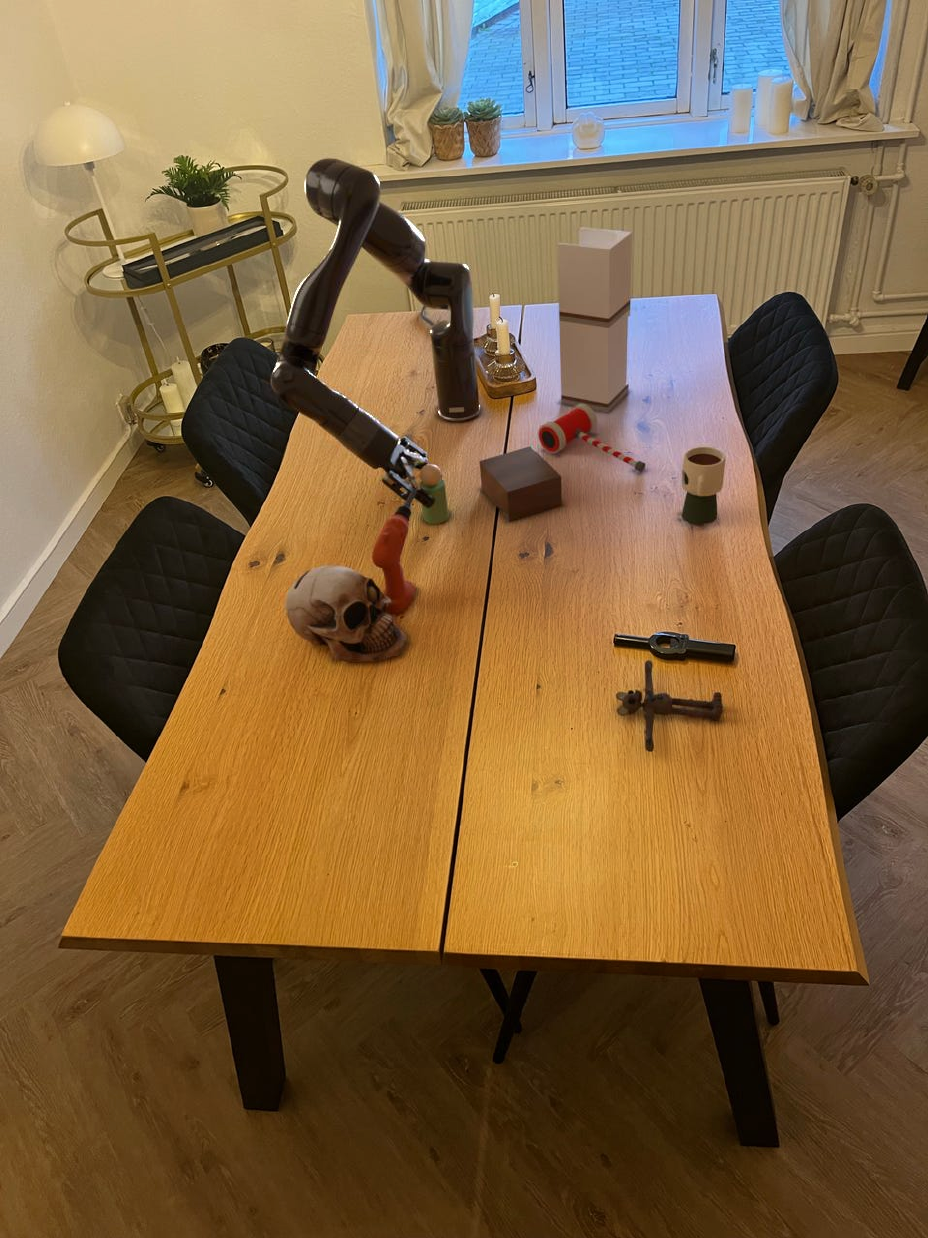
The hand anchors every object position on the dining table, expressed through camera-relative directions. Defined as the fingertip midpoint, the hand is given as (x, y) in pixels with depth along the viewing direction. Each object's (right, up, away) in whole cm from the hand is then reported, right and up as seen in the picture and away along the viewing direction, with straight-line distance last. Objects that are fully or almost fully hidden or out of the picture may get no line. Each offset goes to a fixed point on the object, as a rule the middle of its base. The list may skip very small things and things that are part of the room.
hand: (436, 491), depth 172 cm
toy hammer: (+31, +11, +18) cm, 38 cm away
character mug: (+48, -6, -4) cm, 49 cm away
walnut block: (+16, 0, +6) cm, 18 cm away
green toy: (0, -4, +4) cm, 6 cm away
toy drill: (-5, -18, -11) cm, 22 cm away
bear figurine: (+34, -37, -40) cm, 65 cm away
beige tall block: (+35, +26, +35) cm, 56 cm away
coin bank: (-13, -27, -21) cm, 37 cm away
